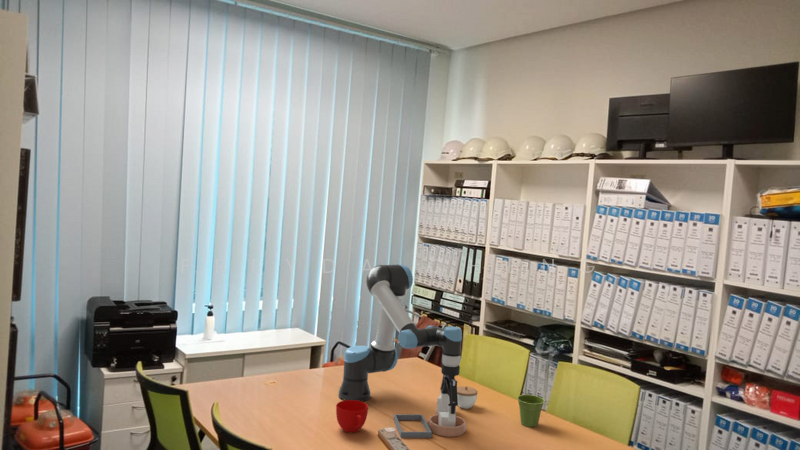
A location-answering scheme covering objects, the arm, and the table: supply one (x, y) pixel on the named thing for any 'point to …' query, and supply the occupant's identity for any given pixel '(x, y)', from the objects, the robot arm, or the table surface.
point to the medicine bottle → (440, 404)
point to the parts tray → (412, 434)
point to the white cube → (445, 420)
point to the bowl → (447, 431)
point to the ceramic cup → (351, 415)
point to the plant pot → (530, 409)
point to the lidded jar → (466, 397)
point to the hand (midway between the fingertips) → (447, 414)
